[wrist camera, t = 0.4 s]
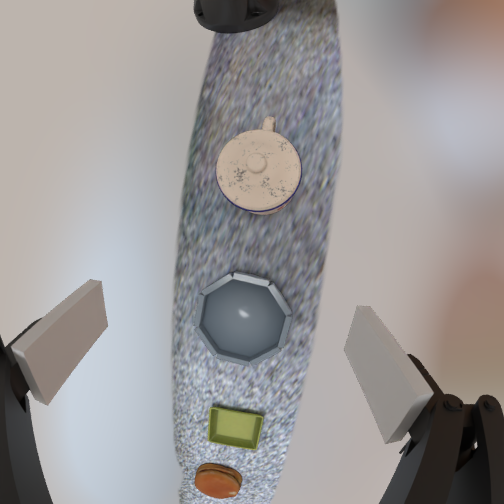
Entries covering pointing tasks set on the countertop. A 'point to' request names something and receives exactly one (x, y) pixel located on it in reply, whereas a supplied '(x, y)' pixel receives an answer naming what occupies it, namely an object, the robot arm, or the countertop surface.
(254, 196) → the teacup with lid
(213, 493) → the burger
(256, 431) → the green shallow square dish
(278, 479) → the countertop surface
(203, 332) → the ashtray
